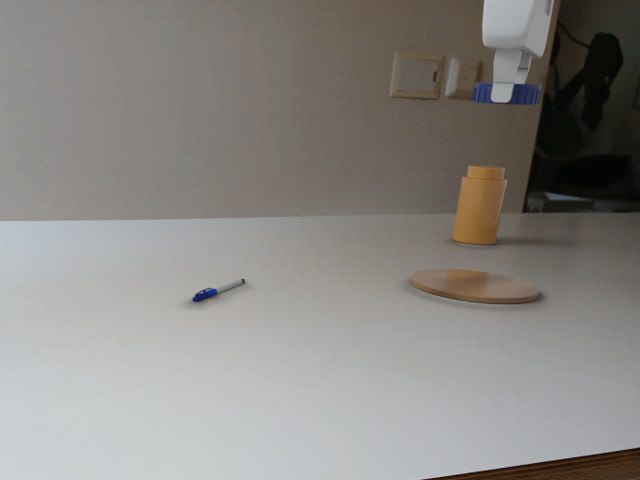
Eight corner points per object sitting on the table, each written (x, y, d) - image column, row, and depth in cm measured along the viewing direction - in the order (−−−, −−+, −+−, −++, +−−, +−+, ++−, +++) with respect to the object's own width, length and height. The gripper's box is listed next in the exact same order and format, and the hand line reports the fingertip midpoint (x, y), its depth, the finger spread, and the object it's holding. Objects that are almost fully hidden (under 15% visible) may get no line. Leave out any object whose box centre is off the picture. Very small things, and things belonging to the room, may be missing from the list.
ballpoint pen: (198, 304, 72) (199, 294, 71) (190, 302, 72) (191, 293, 72) (245, 284, 80) (246, 275, 80) (238, 282, 80) (238, 273, 80)
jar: (500, 241, 109) (515, 167, 105) (487, 246, 105) (502, 169, 101) (460, 235, 113) (472, 163, 109) (445, 240, 108) (457, 165, 105)
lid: (462, 102, 74) (466, 82, 74) (483, 101, 79) (486, 82, 78) (528, 105, 71) (532, 84, 70) (545, 104, 75) (549, 84, 74)
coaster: (552, 288, 82) (553, 283, 82) (517, 311, 72) (518, 305, 72) (436, 268, 90) (437, 263, 89) (391, 286, 80) (392, 281, 80)
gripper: (511, -34, 80) (487, 102, 84) (482, -72, 63) (454, 100, 68) (577, -36, 77) (548, 104, 81) (565, -77, 60) (530, 103, 65)
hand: (505, 102), depth 74 cm, fingers closed on lid, 6 cm apart
